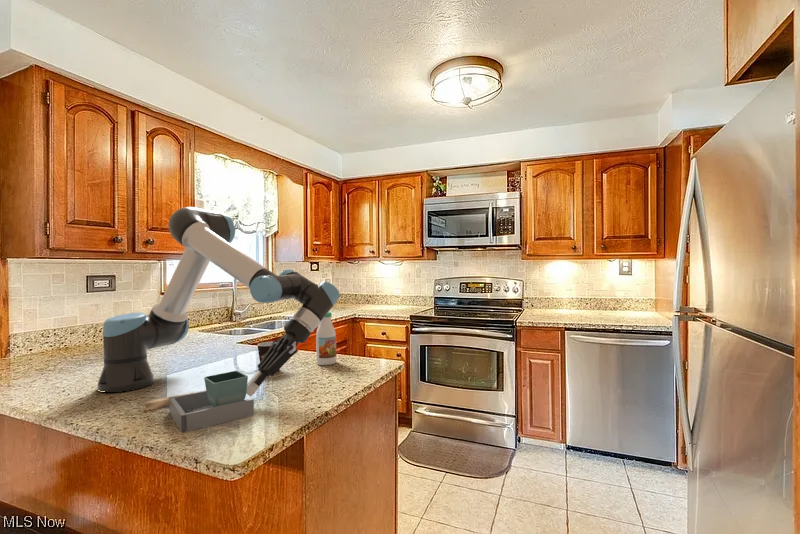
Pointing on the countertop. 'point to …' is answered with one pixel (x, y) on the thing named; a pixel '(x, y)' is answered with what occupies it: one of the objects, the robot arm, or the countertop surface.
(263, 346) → the coffee mug
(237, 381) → the flower pot
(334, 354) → the milk bottle
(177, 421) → the box
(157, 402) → the scraper
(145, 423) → the countertop surface
